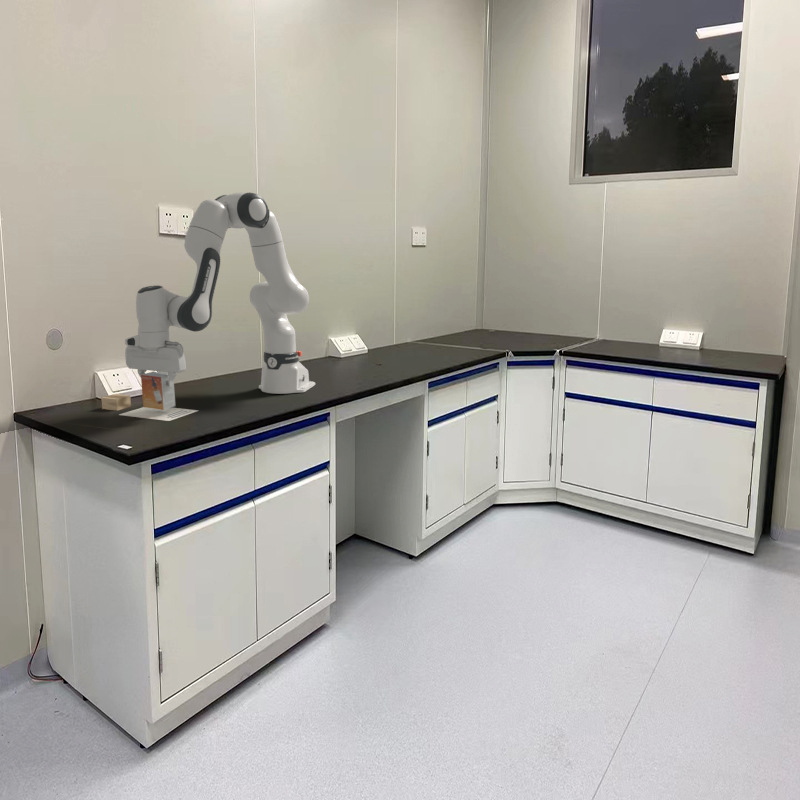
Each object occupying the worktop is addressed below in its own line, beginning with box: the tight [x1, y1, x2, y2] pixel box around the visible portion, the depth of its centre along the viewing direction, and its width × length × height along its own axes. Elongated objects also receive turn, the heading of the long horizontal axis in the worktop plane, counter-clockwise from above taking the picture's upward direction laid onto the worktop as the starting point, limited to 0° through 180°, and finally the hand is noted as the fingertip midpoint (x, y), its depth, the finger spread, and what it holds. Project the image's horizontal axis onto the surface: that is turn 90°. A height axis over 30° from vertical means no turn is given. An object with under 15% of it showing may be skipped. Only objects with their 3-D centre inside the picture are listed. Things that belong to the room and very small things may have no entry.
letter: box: [118, 406, 199, 422], centre depth 204 cm, size 14×19×1 cm
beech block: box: [101, 393, 132, 411], centre depth 209 cm, size 6×6×4 cm
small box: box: [140, 371, 176, 410], centre depth 202 cm, size 8×6×10 cm
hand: (157, 384), depth 202 cm, fingers closed on small box, 8 cm apart
